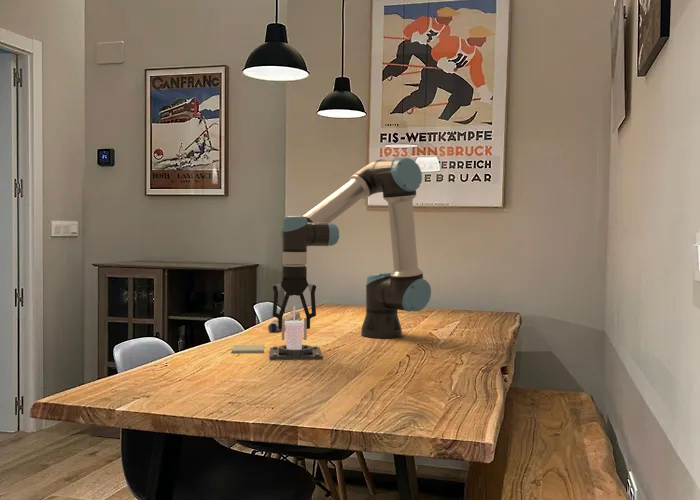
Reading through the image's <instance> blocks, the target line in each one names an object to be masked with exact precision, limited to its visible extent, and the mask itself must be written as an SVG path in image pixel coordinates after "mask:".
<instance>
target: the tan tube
mask: <svg viewBox="0 0 700 500" xmlns="http://www.w3.org/2000/svg"><path fill="white" fill-rule="evenodd" d="M282 318H284V319H285V321H290V320H294V309H293V310H290V313H289V314H288V313H287V315H283V317H282ZM295 320H298V321H303V317H302V316H301V313H300V311H299V310H298V309H295ZM267 327H268V329H267V330H268V331H269V332H270V333H273V332H276V333H278V332H280V331H282V329H279V328H278V319H277V320H276V319H275V320H272V322H271V323H270V324H269V325H268V326H267ZM277 331H278V332H277Z"/></svg>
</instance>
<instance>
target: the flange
mask: <svg viewBox="0 0 700 500" xmlns="http://www.w3.org/2000/svg"><path fill="white" fill-rule="evenodd" d="M323 359H324V356H323V352H322V350H321V347H319V346H317V345H313V346H312V345H308V344H302V349H287V347H286V344H283V345H280V346H277V345H273V346H272V347H269V361H295V360H296V361H297V360H300V361H303V360H305V361H307V360H308V361H309V360H311V361H313V360H314V361H315V360H316V361H317V360H318V361H319V360H321V361H323Z"/></svg>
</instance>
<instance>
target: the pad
mask: <svg viewBox="0 0 700 500" xmlns="http://www.w3.org/2000/svg"><path fill="white" fill-rule="evenodd" d="M264 351H265V344H233V345H232V348H231V354H263V353H264Z"/></svg>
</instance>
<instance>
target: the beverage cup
mask: <svg viewBox="0 0 700 500" xmlns="http://www.w3.org/2000/svg"><path fill="white" fill-rule="evenodd" d="M293 310H294V320H290V321H285V328H284V330H285V341H286V343H285V345H286V347H287V349H302V345H303V336H304V320H301V321H298V320H295V310H296V305H293Z"/></svg>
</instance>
